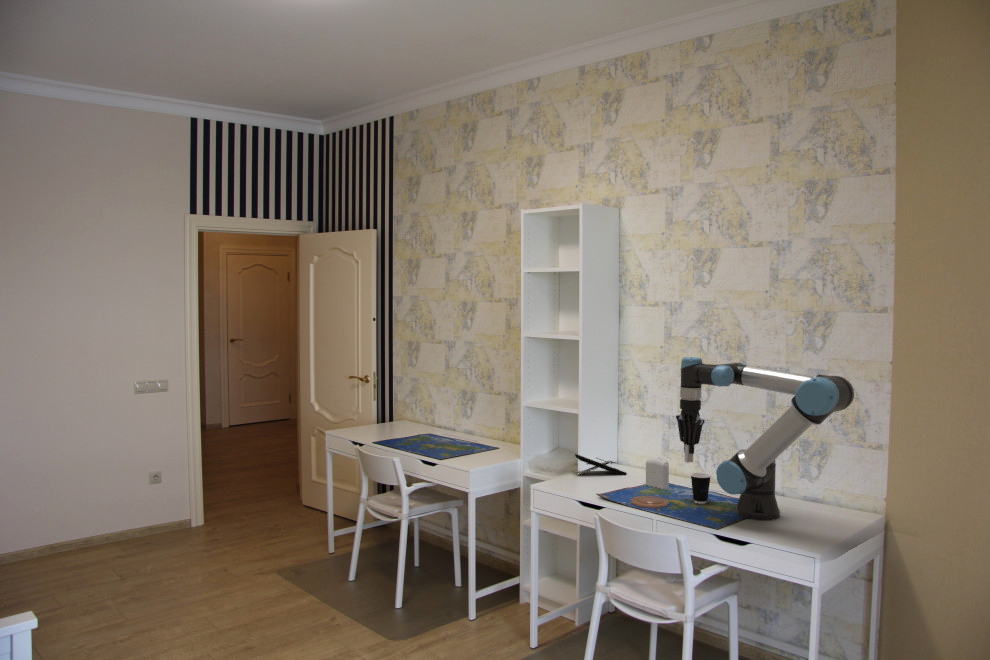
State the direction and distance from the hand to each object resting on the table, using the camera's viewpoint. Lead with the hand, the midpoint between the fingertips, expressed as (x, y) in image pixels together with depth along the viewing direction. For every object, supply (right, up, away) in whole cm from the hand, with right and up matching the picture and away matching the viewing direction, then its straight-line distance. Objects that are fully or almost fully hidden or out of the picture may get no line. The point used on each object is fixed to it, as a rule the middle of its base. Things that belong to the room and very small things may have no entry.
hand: (688, 461), depth 272 cm
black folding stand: (-25, -17, +57) cm, 65 cm away
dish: (-13, -17, +9) cm, 23 cm away
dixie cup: (+7, -18, +10) cm, 22 cm away
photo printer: (-4, -17, +33) cm, 38 cm away
